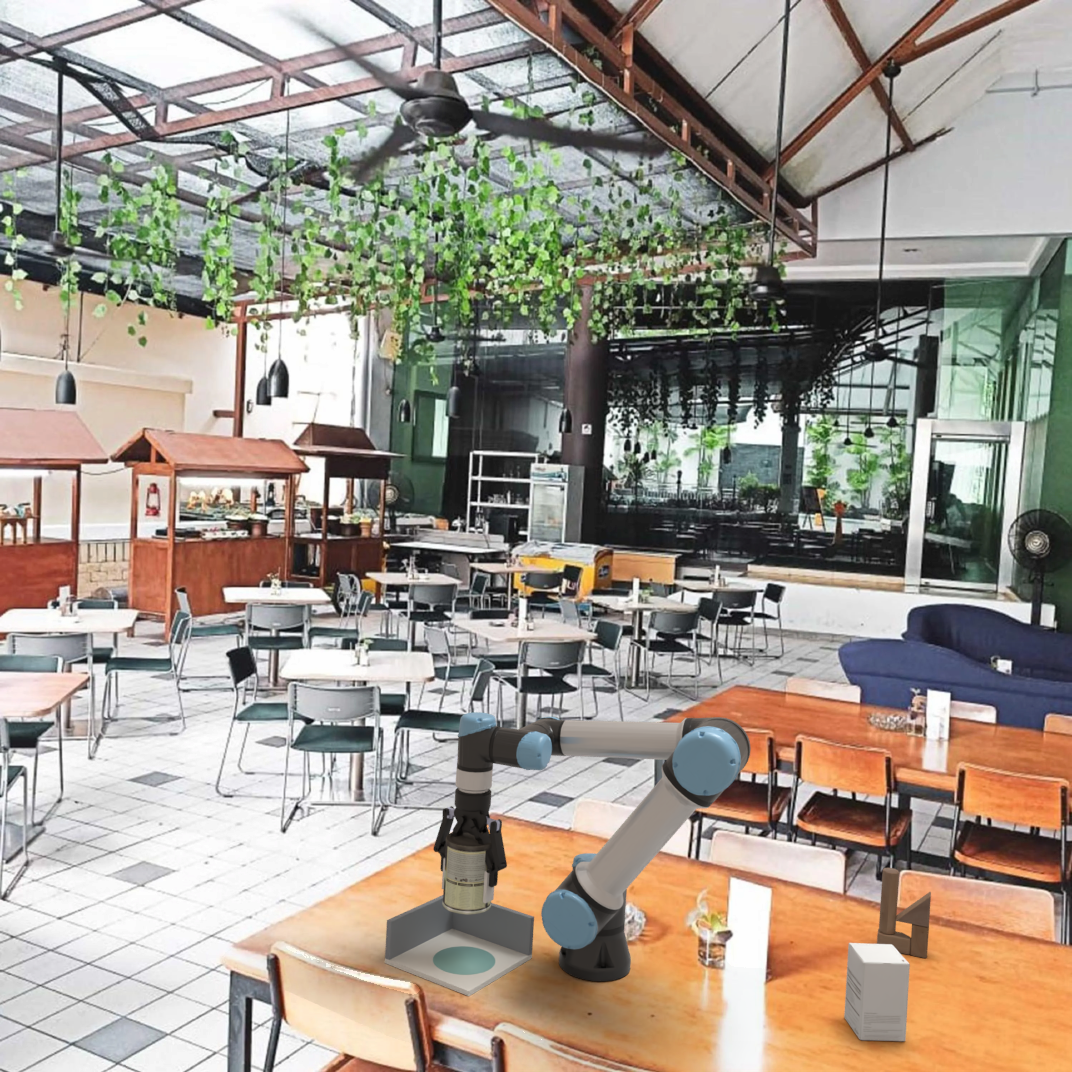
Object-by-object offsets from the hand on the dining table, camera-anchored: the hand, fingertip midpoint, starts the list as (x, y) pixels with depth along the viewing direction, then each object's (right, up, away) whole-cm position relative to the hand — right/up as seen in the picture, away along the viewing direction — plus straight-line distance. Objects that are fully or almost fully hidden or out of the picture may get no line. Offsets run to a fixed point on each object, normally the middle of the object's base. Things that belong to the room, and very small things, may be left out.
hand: (467, 894), depth 211 cm
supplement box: (+79, -20, -17) cm, 83 cm away
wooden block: (+98, -20, +20) cm, 102 cm away
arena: (-2, -15, +2) cm, 15 cm away
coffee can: (0, -2, 0) cm, 2 cm away
